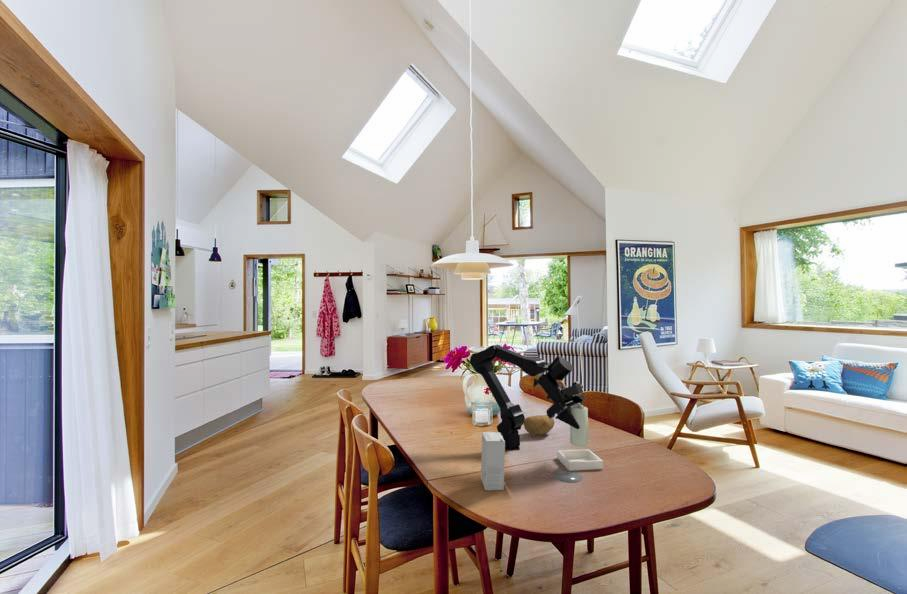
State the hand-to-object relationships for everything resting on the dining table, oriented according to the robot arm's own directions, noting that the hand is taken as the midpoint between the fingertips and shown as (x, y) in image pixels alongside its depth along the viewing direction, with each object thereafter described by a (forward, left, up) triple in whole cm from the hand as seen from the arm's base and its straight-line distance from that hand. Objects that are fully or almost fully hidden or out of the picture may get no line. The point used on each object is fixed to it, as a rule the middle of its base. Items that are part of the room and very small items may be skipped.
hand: (582, 426), depth 148 cm
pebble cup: (-1, +1, -6) cm, 6 cm away
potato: (-4, +36, -13) cm, 38 cm away
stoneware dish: (-1, +1, -13) cm, 13 cm away
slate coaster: (-9, -9, -13) cm, 18 cm away
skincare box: (-33, -11, -13) cm, 37 cm away
